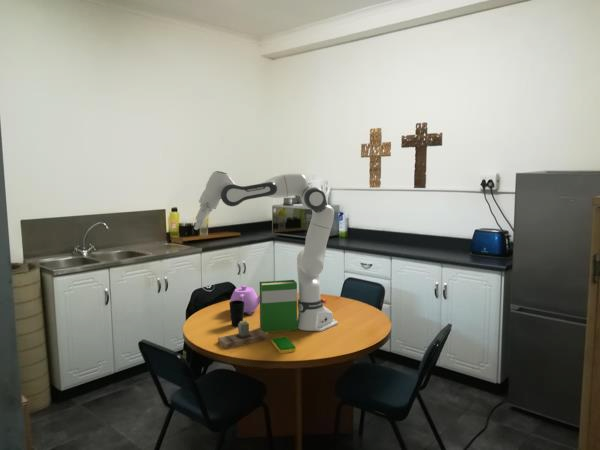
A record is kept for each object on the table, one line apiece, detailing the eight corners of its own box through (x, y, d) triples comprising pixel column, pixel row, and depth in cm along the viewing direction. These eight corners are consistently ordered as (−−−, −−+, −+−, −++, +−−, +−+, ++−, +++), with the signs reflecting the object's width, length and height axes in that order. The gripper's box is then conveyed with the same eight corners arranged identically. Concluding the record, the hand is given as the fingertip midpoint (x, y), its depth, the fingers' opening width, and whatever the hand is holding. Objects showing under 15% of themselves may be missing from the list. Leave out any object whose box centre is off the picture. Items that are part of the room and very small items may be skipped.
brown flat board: (260, 333, 227) (260, 328, 227) (268, 339, 219) (268, 334, 219) (218, 342, 215) (218, 337, 215) (226, 348, 208) (225, 343, 207)
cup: (230, 328, 235) (230, 305, 233) (228, 323, 242) (228, 300, 240) (245, 326, 237) (245, 304, 235) (243, 321, 244) (243, 299, 242)
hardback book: (262, 332, 228) (261, 285, 225) (260, 327, 235) (259, 281, 232) (297, 329, 232) (296, 283, 229) (293, 324, 239) (293, 279, 236)
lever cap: (246, 335, 220) (245, 319, 218) (248, 337, 217) (248, 321, 216) (238, 337, 217) (238, 321, 216) (241, 339, 215) (240, 323, 214)
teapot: (263, 318, 249) (263, 291, 248) (226, 318, 250) (226, 291, 248) (266, 307, 269) (266, 282, 267) (232, 307, 269) (232, 282, 267)
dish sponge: (286, 341, 218) (286, 336, 218) (295, 352, 205) (295, 346, 205) (271, 343, 216) (271, 338, 216) (280, 354, 203) (280, 349, 203)
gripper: (213, 205, 211) (200, 233, 211) (215, 204, 231) (204, 229, 232) (200, 200, 210) (187, 227, 210) (204, 199, 231) (192, 224, 231)
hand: (196, 228), depth 221 cm, fingers open, 8 cm apart
